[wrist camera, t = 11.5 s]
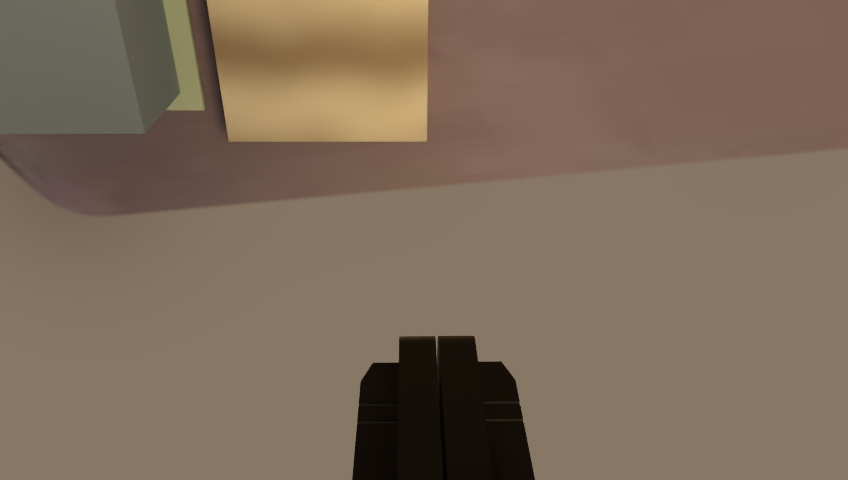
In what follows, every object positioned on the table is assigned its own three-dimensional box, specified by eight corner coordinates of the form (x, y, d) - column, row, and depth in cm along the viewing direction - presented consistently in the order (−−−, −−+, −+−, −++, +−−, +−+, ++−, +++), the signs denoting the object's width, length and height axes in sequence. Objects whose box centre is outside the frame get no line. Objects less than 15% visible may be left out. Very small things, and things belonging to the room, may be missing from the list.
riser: (208, -83, 33) (194, -77, 31) (427, -81, 34) (429, -76, 31) (238, 124, 39) (228, 141, 37) (425, 124, 39) (426, 141, 37)
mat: (-3, -95, 33) (-6, -95, 33) (171, -94, 33) (169, -93, 33) (57, 108, 38) (54, 110, 38) (205, 108, 39) (204, 110, 38)
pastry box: (-4, -41, 34) (-77, -18, 29) (154, -40, 34) (110, -17, 29) (37, 92, 38) (-21, 134, 32) (180, 92, 38) (144, 133, 33)
